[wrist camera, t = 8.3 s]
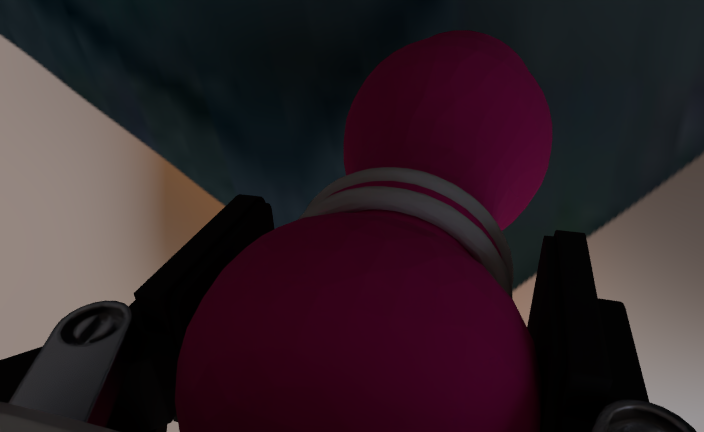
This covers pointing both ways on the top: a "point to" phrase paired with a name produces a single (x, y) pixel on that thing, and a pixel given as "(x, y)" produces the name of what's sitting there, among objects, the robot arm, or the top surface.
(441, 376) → the pepper mill
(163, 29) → the top surface
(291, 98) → the top surface
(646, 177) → the top surface
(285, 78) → the top surface
